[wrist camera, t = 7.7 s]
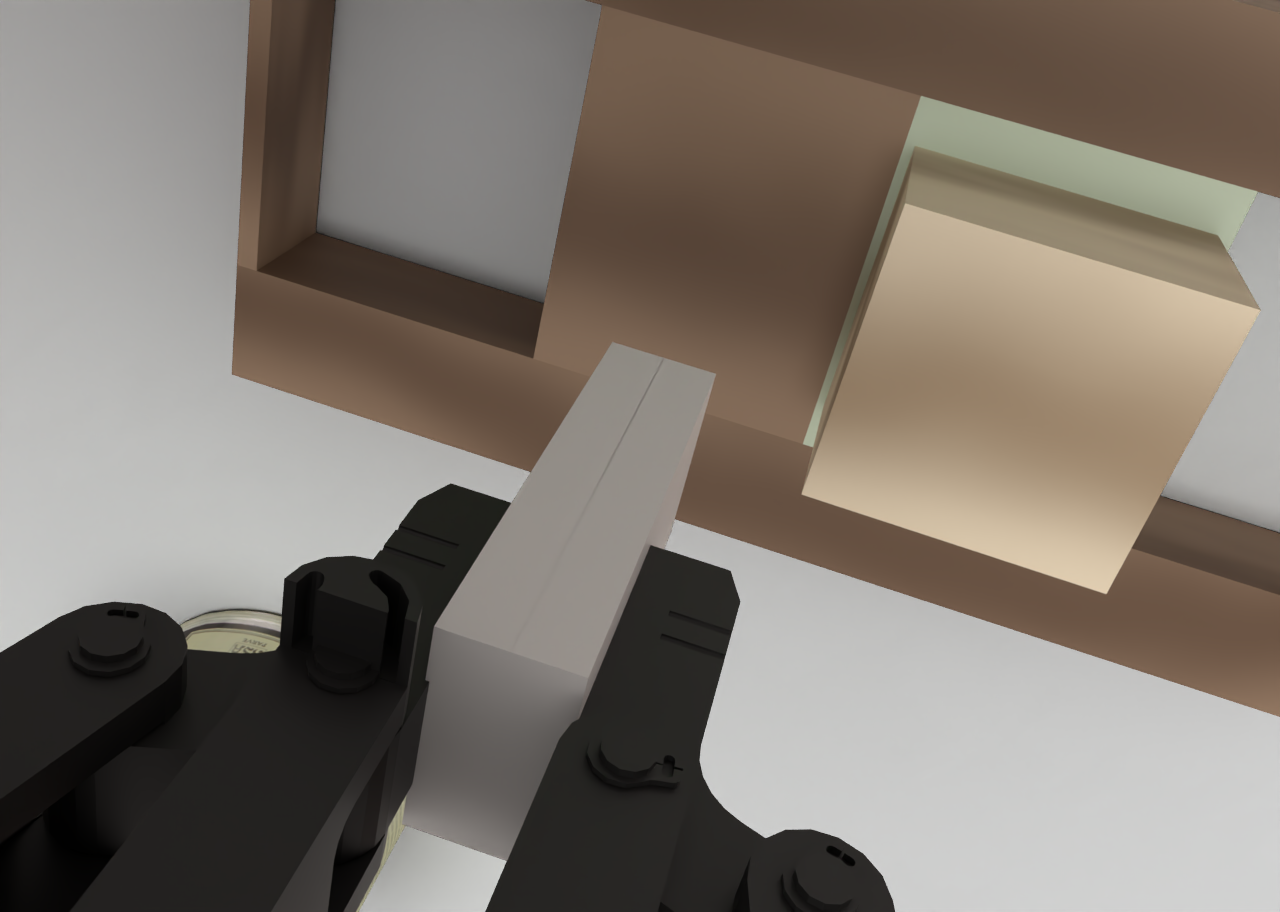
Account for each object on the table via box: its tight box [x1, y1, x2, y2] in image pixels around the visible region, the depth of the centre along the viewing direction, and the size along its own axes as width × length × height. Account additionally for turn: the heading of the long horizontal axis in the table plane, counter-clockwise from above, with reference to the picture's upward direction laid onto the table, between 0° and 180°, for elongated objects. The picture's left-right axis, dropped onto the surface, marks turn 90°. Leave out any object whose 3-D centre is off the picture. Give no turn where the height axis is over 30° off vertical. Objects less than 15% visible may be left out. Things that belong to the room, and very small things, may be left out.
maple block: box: [801, 146, 1261, 594], centre depth 23 cm, size 6×6×4 cm
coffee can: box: [180, 610, 406, 912], centre depth 34 cm, size 10×10×14 cm
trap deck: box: [232, 0, 1280, 717], centre depth 26 cm, size 14×28×3 cm, turn 78°
